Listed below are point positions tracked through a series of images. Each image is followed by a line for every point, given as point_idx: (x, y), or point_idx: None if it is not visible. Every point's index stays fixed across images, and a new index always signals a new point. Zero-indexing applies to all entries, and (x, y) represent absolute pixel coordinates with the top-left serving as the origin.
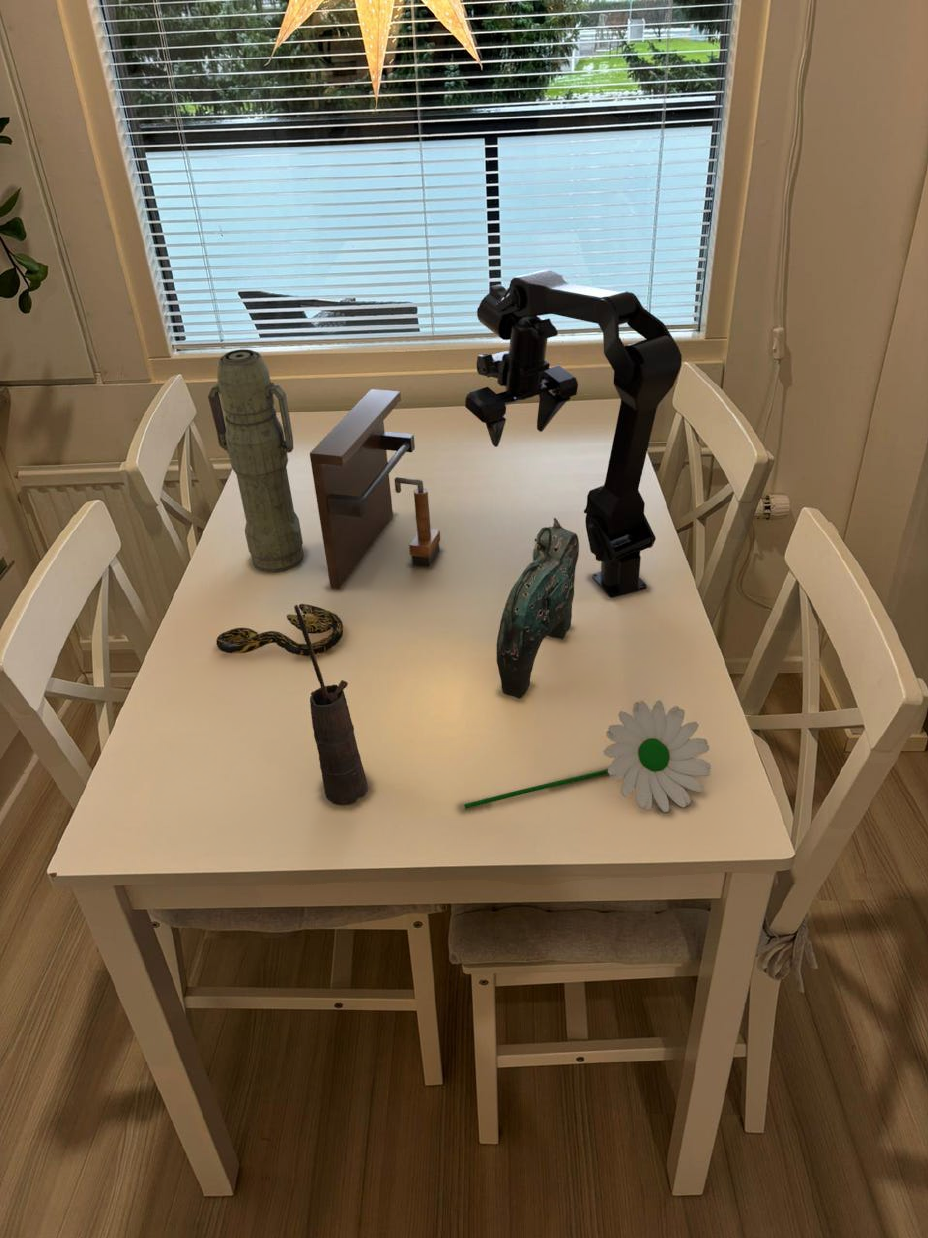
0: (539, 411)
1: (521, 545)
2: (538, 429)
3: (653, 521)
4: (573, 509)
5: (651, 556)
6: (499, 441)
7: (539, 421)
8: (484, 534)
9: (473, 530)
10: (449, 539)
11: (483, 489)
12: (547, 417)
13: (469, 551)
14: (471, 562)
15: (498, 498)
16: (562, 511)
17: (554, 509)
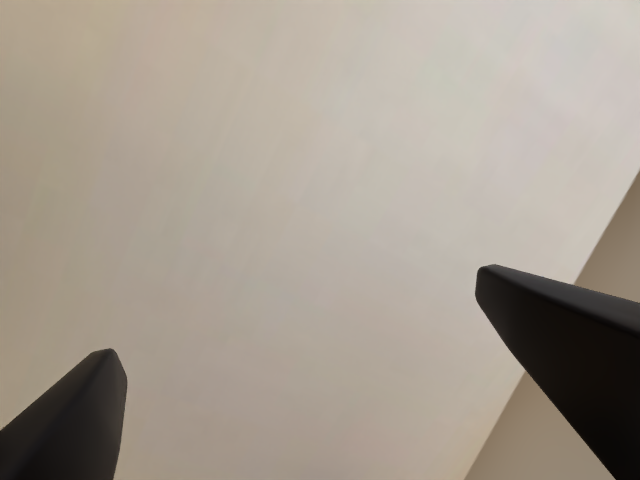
0: (602, 336)
1: (209, 353)
2: (480, 281)
3: (511, 366)
4: (406, 252)
5: (428, 471)
6: (116, 446)
7: (524, 317)
8: (134, 268)
9: (110, 234)
10: (17, 250)
11: (238, 5)
12: (580, 429)
13: (60, 331)
14: (48, 380)
15: (258, 93)
16: (378, 249)
17: (367, 231)
